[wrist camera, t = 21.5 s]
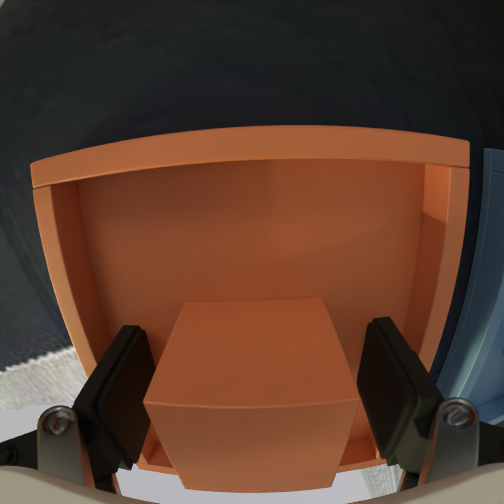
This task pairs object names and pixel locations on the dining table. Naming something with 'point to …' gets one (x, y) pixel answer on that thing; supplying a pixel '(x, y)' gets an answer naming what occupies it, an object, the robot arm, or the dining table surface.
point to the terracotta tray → (256, 236)
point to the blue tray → (482, 309)
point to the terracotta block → (253, 396)
